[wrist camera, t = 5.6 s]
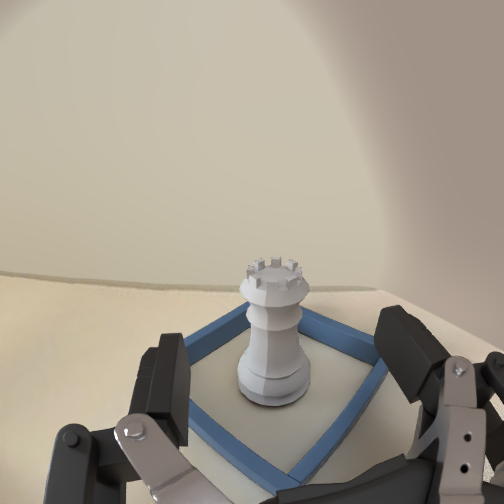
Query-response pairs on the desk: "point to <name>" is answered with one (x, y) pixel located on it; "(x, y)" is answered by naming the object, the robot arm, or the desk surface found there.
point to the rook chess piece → (274, 334)
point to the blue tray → (275, 479)
